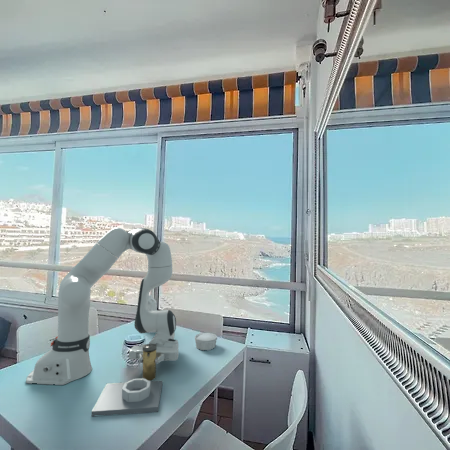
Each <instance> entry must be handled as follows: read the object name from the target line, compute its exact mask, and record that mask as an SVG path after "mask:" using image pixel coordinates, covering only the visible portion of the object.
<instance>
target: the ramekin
mask: <svg viewBox="0 0 450 450" xmlns="http://www.w3.org/2000/svg"><path fill="white" fill-rule="evenodd" d="M194 340H195V347H196V348H197V349H198V350H199V349H200V351H204V350H207V351H212V350H213V348H214V349H215V348H216V345H217V340H218V336H217V334H215V333H212V332H202V333H199V334H196V335H195V336H194ZM211 349H212V350H211Z"/></svg>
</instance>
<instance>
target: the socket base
mask: <svg viewBox="0 0 450 450" xmlns="http://www.w3.org/2000/svg"><path fill="white" fill-rule="evenodd" d="M162 387H163V380H162V379H161V380H150V381H148V380H147V379H145V378H143V377H142V378H132V379H130V380H129V381H126V382H113V383H112V382H111V383H109V382H108V383H106V384H105V386H104V388H103V389H102V391H101V393H100V395H99V397H98V399H97V401H96V402H95V405H94V407H93V408H92V410H91V417H95V416H94V415H104V416H114V415H113V414H119V415H129V414H130V415H131V414H132V415H133V414H143V413H147V414H148V413H158V412H159V408H160V400H161V394H162V389H163V388H162ZM111 414H112V415H111Z"/></svg>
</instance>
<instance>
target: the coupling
mask: <svg viewBox="0 0 450 450" xmlns="http://www.w3.org/2000/svg"><path fill="white" fill-rule="evenodd" d="M156 349H157V345H156V344H149V343H146V345H144V346H143V363H142V378H145V379H147V380H148V381H154V380H155V379H156V377H157V373H156V372H157V363H155V359H156Z"/></svg>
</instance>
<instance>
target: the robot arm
mask: <svg viewBox="0 0 450 450" xmlns="http://www.w3.org/2000/svg"><path fill="white" fill-rule="evenodd" d="M127 250H132V251H134V252H136V253H141V254H143V255H146V258H147V267H148V268H147V273H146V275H145V276H144V277H142V279H141V282H140V286H139V292H138V300H137V308H136V313H135V318H134V328H135V330H136V331H137V332H138V333H139V334H148V333H155V335H154V336H153V337H152V338H151V339H150V341H149V343H148V344H156V345H157V349H156V359H155V363H156V364H160V362H163V361H166V362H169V361H173V362H175V361H178V358H179V341H178V339H175V331H176V329H177V319H176V318H177V317H176V315H175V314H174V312H172V310H170V309H161V310H157V311H149V310H148V309H147V306H148V299H149V296H150V293H151V291H152V290H153V289H155V288H158V287H160V286H163V285H164V284H166V283H168V281H170V279H171V278H172V275H173V259H172V258H173V257H172V253H171V248H170V245H169V244H168V243H166V242H164V241H160V240H159V238H158V237H157V235H156V234H155V232H154V231H152V230H151V229H149V228H144V227H137V228H134V229H130V230H128V231H126V230H125V229H123V228H120V227H114V228H112V229H110V230H109V231H108V232H106V233H105V234H104V235H103V236H102V237H100V239H99V240H98V241H97V242H96V243H95V244H94V246H93V247H92V248H91V249H90V250H89V251H88V252H87V253H86V254H85V255H84V257H82V259H81V260H80V261H79V262H78V263H77V264H76V265H75V266H74V267H73V268H72V269H71V270H70V271H69V272H68V273H67V274H66V275H65V276H64V277H63V278H62V280H61V281H60V282H59V283H60V284H59V288H58V293H57V294H58V295H57V298H58V299H57V300H58V301H57V305H58V307H57V310H58V311H57V336H56V337H54V338H55V339H53V340H52V342H51V343H50V347H51V349H49V350H48V351H47V352H45V354H43V355H42V356H41V357H39V358H38V360H37V361H36V363H35V364H34V368H33V370H31V372H29V374H28V375H27V376H26V378H25V379H26V380H25V383H26V384H32V383H37V384H36V385H53V384H55V386H56V385H57V386H62V385H66V384H68V383H71V382H73V381H76V380H79V379H81V378H84V377H85V376H87V375H88V374H89V375H90V373H91V372H92V370H93V367H92V364H91V358H90V346H91V338H90V333H89V332H90V330H89V329H90V328H89V327H90V309H91V308H90V307H91V306H90V305H91V291H92V289H91V288H92V287H93V286H95V285H96V283H97V282H98V281H99V280H100V279H101V278H102V277H104V275H106V274H107V273H108V271H109V270H110V269H111V268H112V267H113V265H115V263H116V262H117V261H118V259H119V258H120V257H121V256H122V255H123V253H125V251H127ZM141 344H142V343H141ZM146 344H147V343H146ZM146 344H145V343H143V344H142V345H139V346H135V345H134V346H132V347H131V348H130V349H129V350H128V358H129V359H130V360H138V364H141V363H142V364H143V346H144V345H146Z"/></svg>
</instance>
